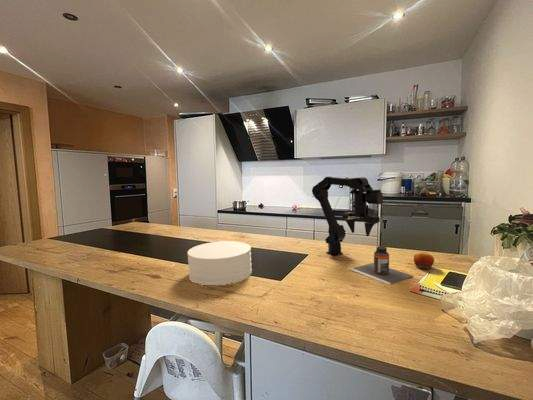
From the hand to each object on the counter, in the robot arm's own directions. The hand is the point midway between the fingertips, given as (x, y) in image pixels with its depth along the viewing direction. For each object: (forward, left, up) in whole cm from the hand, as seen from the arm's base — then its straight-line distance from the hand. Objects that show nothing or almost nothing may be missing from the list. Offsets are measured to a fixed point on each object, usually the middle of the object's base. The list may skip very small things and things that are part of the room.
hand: (360, 234), depth 133 cm
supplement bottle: (+18, -7, -13) cm, 23 cm away
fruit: (+23, +15, -13) cm, 30 cm away
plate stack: (-22, -65, -13) cm, 70 cm away
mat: (+17, -6, -13) cm, 22 cm away
